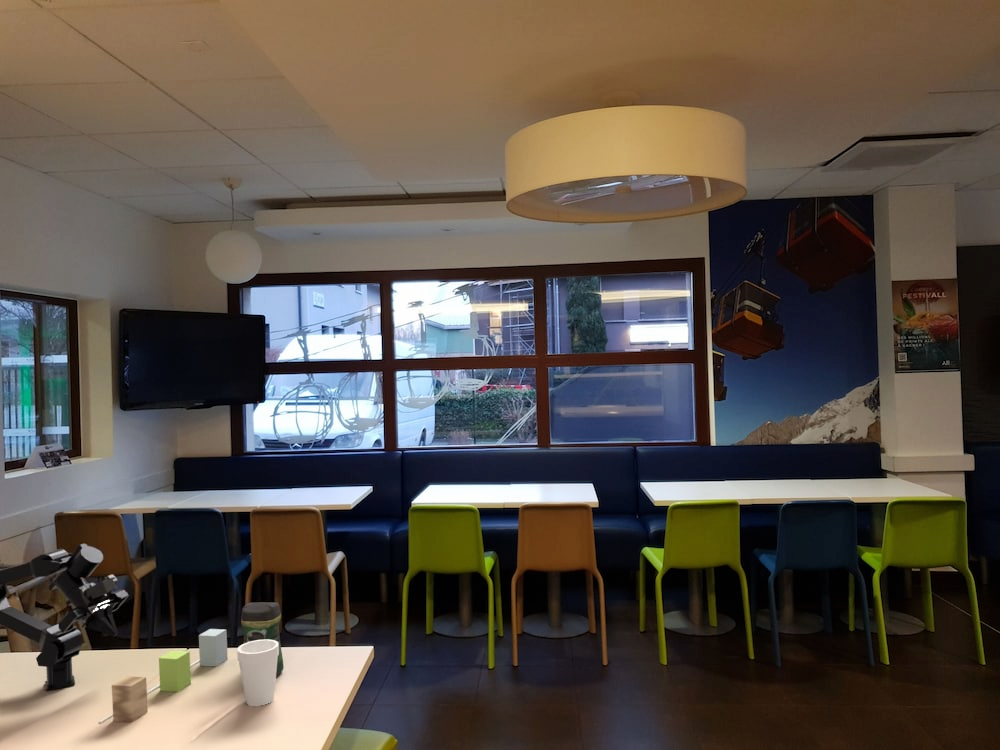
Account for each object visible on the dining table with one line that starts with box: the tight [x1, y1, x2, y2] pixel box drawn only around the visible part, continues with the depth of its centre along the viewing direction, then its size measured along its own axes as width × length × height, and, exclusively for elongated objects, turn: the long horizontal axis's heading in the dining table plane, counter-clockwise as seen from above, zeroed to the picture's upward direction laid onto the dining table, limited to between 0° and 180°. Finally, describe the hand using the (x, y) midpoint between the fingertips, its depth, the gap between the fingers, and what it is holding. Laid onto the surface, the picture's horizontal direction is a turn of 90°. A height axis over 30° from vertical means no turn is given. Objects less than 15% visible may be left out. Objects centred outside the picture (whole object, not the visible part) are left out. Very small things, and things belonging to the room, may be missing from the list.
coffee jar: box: [240, 601, 284, 677], centre depth 199 cm, size 10×8×19 cm
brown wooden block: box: [111, 675, 149, 723], centre depth 174 cm, size 5×5×8 cm
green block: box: [158, 650, 192, 693], centre depth 190 cm, size 5×5×8 cm
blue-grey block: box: [198, 628, 229, 667], centre depth 205 cm, size 5×5×8 cm
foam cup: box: [236, 639, 279, 707], centre depth 183 cm, size 10×9×13 cm
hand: (115, 634), depth 193 cm, fingers closed
